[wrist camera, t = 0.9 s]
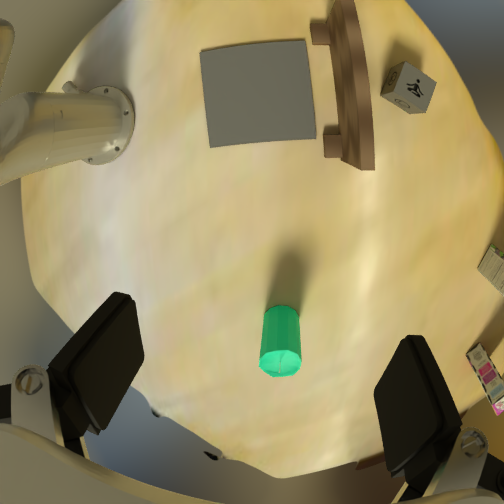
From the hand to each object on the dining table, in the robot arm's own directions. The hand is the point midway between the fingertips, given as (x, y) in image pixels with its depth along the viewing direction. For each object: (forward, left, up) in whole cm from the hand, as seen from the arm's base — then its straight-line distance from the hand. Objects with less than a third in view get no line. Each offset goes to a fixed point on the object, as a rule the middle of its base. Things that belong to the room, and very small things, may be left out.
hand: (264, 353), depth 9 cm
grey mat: (-11, +6, -31) cm, 34 cm away
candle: (+18, -14, -31) cm, 39 cm away
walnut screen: (-5, +15, -31) cm, 35 cm away
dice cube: (0, +23, -31) cm, 39 cm away
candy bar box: (+61, +15, -31) cm, 70 cm away
